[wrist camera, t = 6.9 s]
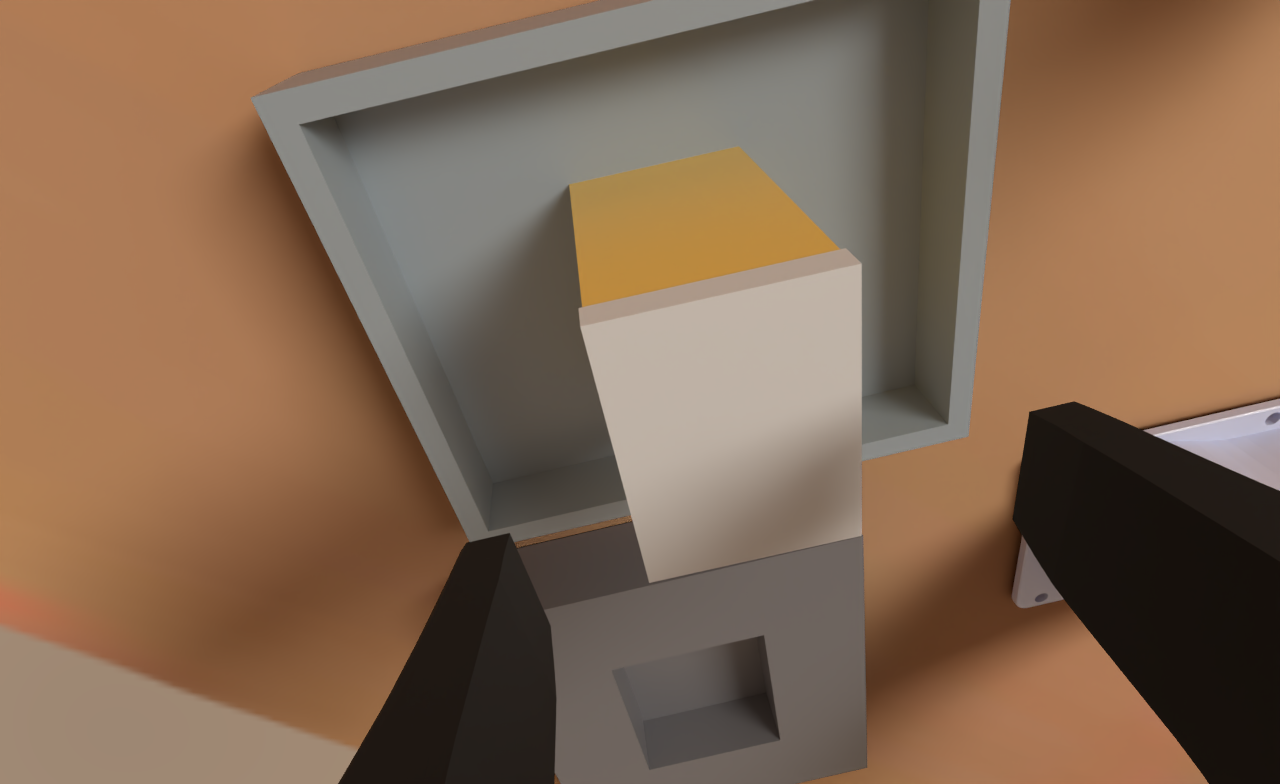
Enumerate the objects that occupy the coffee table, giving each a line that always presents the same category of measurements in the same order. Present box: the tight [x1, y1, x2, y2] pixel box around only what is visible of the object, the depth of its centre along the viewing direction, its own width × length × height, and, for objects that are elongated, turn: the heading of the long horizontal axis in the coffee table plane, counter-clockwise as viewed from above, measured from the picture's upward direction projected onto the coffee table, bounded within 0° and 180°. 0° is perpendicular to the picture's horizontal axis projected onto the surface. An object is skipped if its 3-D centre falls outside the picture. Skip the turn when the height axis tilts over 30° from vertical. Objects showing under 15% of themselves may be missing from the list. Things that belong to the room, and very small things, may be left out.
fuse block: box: [517, 522, 867, 784], centre depth 25 cm, size 12×14×3 cm
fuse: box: [569, 146, 862, 583], centre depth 14 cm, size 4×6×7 cm
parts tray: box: [251, 0, 1011, 542], centre depth 16 cm, size 14×12×3 cm
